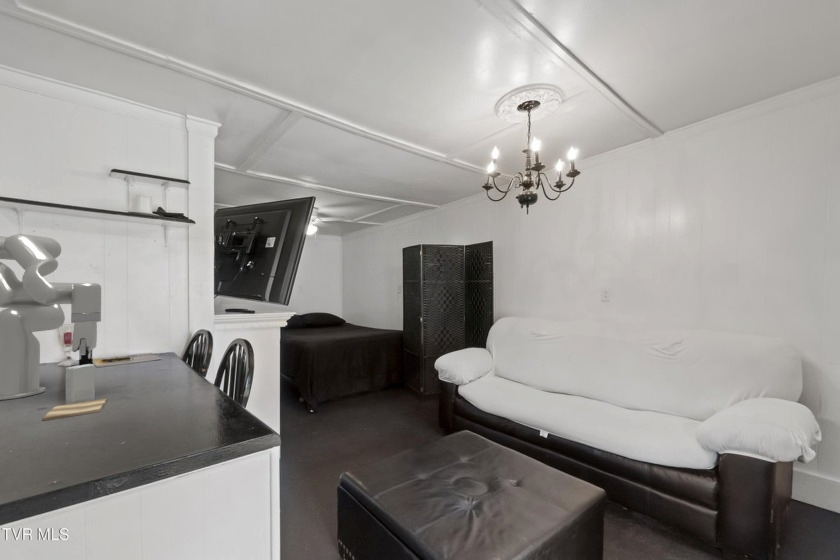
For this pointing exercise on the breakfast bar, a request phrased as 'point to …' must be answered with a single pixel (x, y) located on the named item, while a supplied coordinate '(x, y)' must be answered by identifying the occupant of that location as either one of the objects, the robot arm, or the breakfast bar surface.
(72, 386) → the skincare box
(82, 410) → the brass plate
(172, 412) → the breakfast bar surface
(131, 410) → the breakfast bar surface
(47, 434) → the breakfast bar surface
